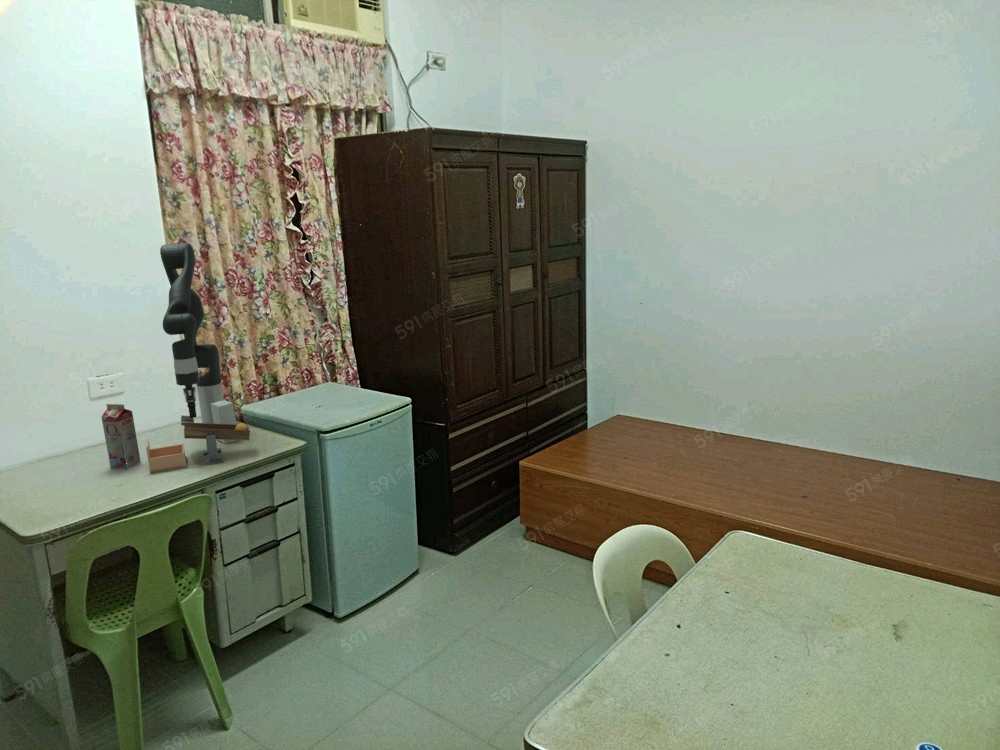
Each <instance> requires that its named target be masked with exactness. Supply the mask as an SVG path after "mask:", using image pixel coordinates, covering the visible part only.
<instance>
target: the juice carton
mask: <svg viewBox="0 0 1000 750" xmlns="http://www.w3.org/2000/svg"><path fill="white" fill-rule="evenodd" d="M133 415H134V414H133V410H130V409H127V408H125V404H123V403H122V404H117V403H106V409H105V411H104V412H103V413H102V415H101V422H102V429H103V433H104V440H105V445H106V449H107V455H108V461H109V467H110V469H120V468H121V469H122V470H123V469H125V470H128V469H129V468H130V469H131V467H134V466H136V465H138V464H139V462H140V463H141V462H142V461H141V456H140V450H139V449H140V448H139V444H138V439H137V438H138V437H137V433H136V427H135V422H134V420H135V419H134V416H133ZM126 463H127V464H126ZM121 469H120V470H121Z"/></svg>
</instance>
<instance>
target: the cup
mask: <svg viewBox="0 0 1000 750" xmlns="http://www.w3.org/2000/svg"><path fill="white" fill-rule="evenodd" d="M145 445H146V446H145V448H146V449H145V450H146V455H147V462H148V469H149V473H150V474H154V473H159V472H166V471H171V470H177V469H183V468H184V469H185V468H187V457H186V451H185V444H184V443H180V444H174V445H169V446H162V447H156V448H155V447H154V448H151V444H150V439H149V438H146V444H145Z"/></svg>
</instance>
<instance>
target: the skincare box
mask: <svg viewBox="0 0 1000 750" xmlns="http://www.w3.org/2000/svg"><path fill="white" fill-rule="evenodd" d="M210 405H211V410H212V416H213V421H214V424H236V425H238V423H237V419H236V413H235V407H234V402H230V401H229V400H226V399H224V400H222V401H218V402H214V403H211V404H210ZM216 441H219V442H221V443H223V444H229V443H232V442H233V443H234V442H238V441H239V440H225V439H216Z"/></svg>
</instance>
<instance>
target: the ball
mask: <svg viewBox="0 0 1000 750" xmlns="http://www.w3.org/2000/svg"><path fill="white" fill-rule="evenodd" d="M246 425H247V424H245V423H242V422H240V423H237V426H236V427H235V430H247V426H246Z"/></svg>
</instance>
